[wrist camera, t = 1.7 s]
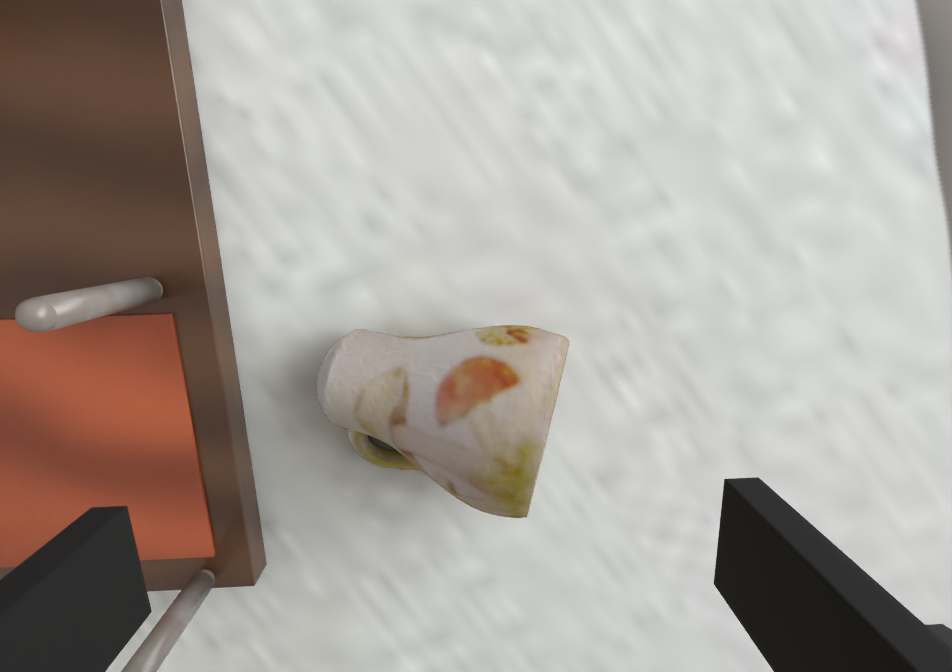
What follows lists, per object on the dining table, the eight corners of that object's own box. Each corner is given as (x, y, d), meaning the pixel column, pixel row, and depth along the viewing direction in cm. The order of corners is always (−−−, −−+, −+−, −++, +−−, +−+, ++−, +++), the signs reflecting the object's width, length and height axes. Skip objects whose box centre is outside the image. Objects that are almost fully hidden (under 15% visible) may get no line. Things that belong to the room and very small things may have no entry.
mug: (323, 282, 21) (426, 283, 13) (502, 331, 26) (659, 355, 18) (280, 452, 21) (357, 571, 12) (470, 468, 26) (614, 558, 18)
